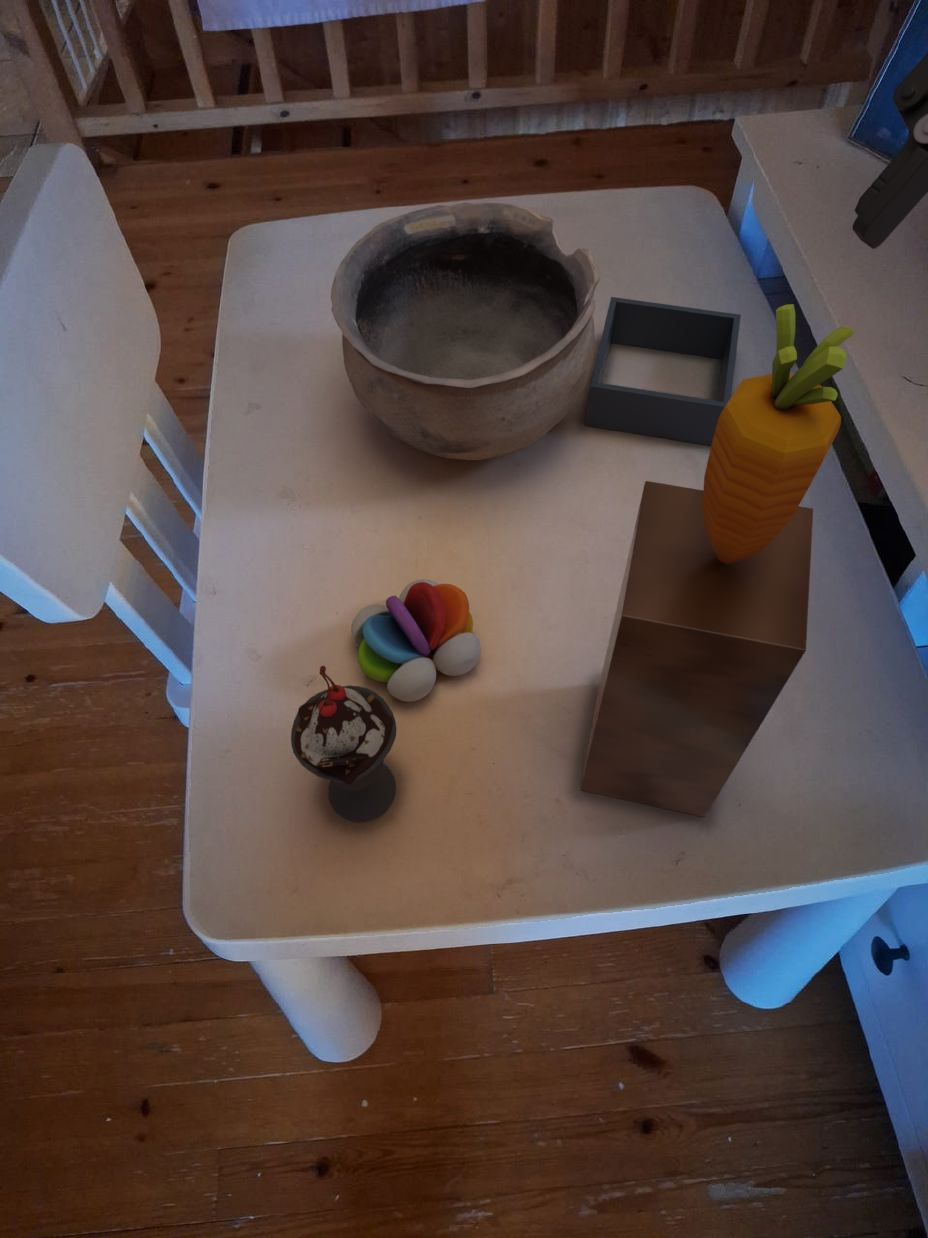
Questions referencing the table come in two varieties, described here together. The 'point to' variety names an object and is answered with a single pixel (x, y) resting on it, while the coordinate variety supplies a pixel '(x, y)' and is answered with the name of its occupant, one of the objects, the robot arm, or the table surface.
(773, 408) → the carrot
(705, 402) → the square storage tray
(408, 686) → the rainbow cloud toy
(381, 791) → the sundae
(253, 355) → the table surface
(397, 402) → the ceramic bowl
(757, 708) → the block
